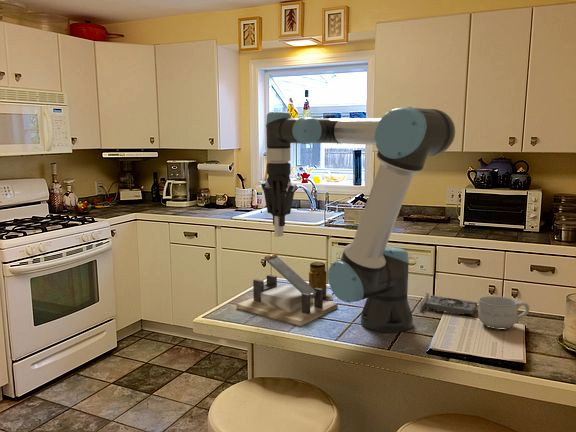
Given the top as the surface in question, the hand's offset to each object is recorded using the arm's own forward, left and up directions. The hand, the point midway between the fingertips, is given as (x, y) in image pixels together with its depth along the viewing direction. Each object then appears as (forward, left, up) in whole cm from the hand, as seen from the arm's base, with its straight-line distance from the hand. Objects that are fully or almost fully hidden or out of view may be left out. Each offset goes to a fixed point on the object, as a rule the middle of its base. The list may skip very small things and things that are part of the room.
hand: (278, 235), depth 164 cm
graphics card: (-45, -29, -24) cm, 59 cm away
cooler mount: (-3, 0, -24) cm, 24 cm away
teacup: (-63, -25, -24) cm, 72 cm away
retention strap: (-5, 0, -13) cm, 14 cm away
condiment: (-5, -16, -24) cm, 29 cm away
